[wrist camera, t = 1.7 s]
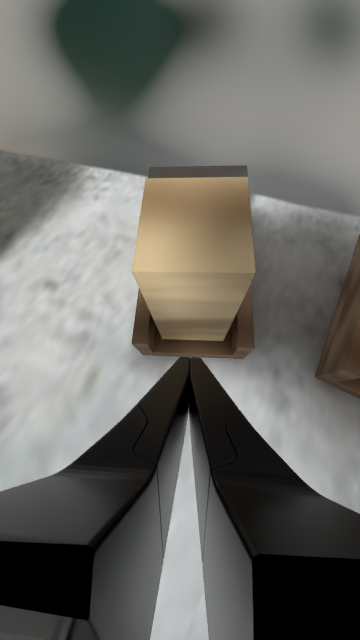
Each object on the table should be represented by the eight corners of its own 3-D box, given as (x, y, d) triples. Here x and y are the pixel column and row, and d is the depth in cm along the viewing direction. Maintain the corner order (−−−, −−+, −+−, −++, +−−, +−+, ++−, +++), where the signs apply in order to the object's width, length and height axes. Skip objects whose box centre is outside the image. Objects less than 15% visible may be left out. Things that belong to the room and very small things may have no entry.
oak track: (243, 358, 17) (261, 341, 13) (142, 354, 18) (125, 337, 13) (235, 213, 23) (246, 163, 18) (158, 213, 23) (149, 165, 19)
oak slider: (223, 341, 17) (255, 273, 8) (162, 339, 17) (131, 271, 8) (222, 283, 18) (247, 176, 10) (167, 282, 19) (145, 178, 10)
